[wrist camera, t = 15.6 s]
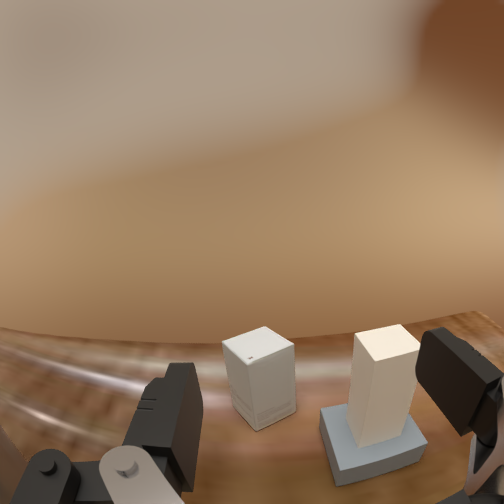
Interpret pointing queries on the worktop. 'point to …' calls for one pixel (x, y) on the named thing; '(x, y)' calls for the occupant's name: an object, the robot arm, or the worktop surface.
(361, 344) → the cream block
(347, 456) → the plinth
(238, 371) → the supplement box
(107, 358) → the worktop surface
